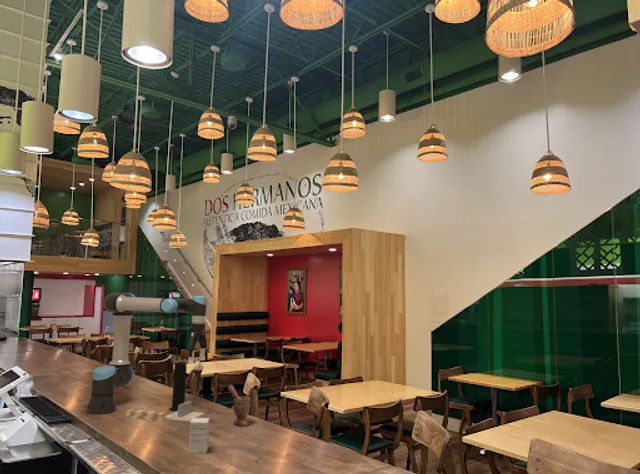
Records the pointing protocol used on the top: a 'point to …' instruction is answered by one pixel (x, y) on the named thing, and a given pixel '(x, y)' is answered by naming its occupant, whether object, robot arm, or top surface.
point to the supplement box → (199, 435)
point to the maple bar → (145, 415)
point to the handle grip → (179, 385)
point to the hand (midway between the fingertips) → (196, 361)
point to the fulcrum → (184, 413)
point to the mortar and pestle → (240, 407)
